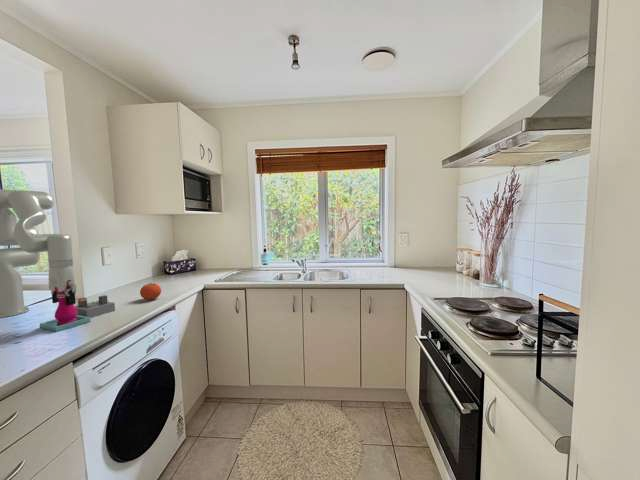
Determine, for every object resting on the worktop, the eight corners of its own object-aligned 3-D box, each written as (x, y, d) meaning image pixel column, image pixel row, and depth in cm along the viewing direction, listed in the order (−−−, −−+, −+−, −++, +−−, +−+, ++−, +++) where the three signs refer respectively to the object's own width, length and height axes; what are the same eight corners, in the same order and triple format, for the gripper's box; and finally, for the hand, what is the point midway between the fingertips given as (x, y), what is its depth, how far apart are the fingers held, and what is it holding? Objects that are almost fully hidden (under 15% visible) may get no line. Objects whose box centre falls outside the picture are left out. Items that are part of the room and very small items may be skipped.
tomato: (151, 302, 151) (150, 284, 150) (135, 301, 153) (134, 283, 152) (165, 297, 161) (165, 280, 160) (150, 296, 163) (149, 279, 162)
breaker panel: (71, 315, 131) (71, 306, 131) (99, 307, 143) (99, 299, 142) (87, 318, 127) (86, 309, 127) (114, 310, 138) (114, 302, 138)
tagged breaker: (78, 306, 132) (77, 298, 132) (84, 304, 134) (83, 297, 134) (81, 306, 131) (80, 299, 131) (87, 305, 133) (87, 297, 133)
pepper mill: (76, 319, 124) (73, 275, 123) (79, 323, 119) (76, 277, 118) (54, 324, 119) (50, 278, 117) (56, 328, 114) (52, 280, 112)
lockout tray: (40, 328, 116) (39, 323, 116) (74, 318, 127) (73, 314, 127) (56, 332, 112) (56, 327, 112) (90, 322, 123) (90, 317, 123)
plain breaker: (99, 303, 136) (98, 296, 135) (104, 302, 138) (103, 295, 138) (102, 304, 135) (101, 297, 134) (107, 302, 137) (107, 295, 137)
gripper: (38, 264, 117) (41, 303, 119) (61, 266, 111) (65, 308, 112) (60, 261, 124) (63, 299, 126) (83, 263, 118) (86, 303, 119)
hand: (64, 303), depth 119 cm, fingers open, 9 cm apart
